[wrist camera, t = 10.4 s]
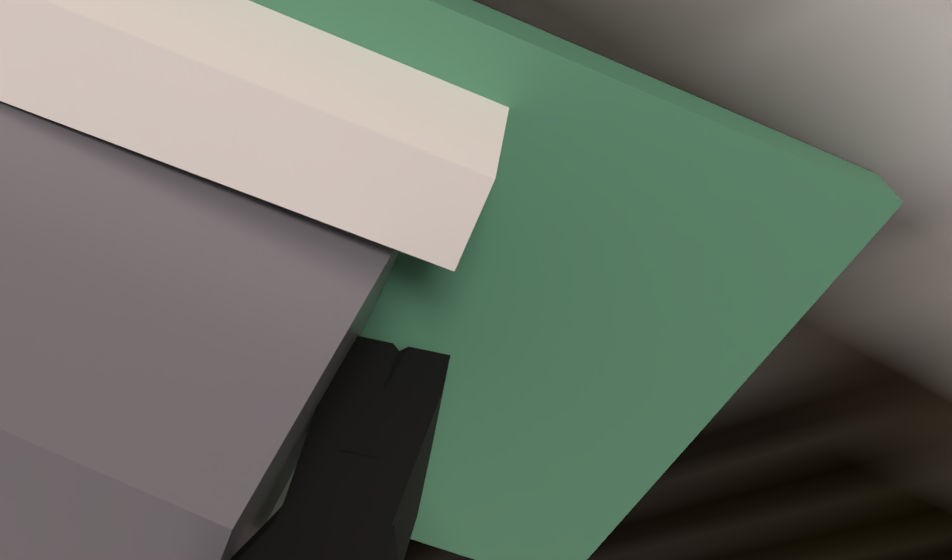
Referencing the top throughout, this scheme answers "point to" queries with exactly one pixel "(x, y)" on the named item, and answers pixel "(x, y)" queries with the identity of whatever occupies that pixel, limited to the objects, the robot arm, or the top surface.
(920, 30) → the top surface
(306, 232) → the plug block
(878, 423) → the top surface
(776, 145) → the board
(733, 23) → the top surface
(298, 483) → the robot arm
